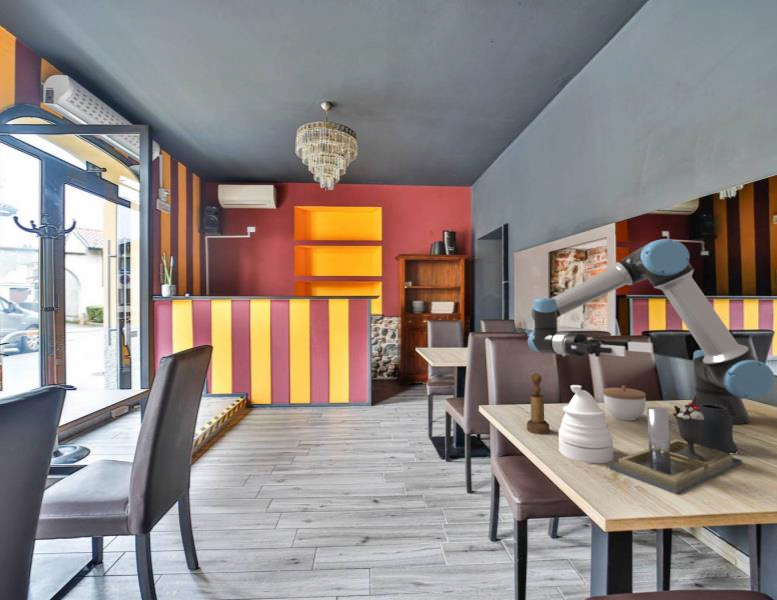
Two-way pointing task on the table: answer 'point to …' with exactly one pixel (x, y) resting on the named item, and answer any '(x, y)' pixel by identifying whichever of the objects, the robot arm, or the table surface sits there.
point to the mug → (717, 428)
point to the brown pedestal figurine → (537, 409)
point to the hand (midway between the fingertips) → (639, 349)
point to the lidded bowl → (624, 402)
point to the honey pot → (585, 430)
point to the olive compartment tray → (672, 459)
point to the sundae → (690, 427)
